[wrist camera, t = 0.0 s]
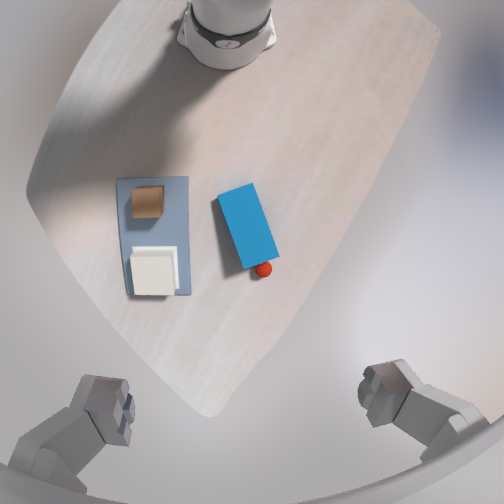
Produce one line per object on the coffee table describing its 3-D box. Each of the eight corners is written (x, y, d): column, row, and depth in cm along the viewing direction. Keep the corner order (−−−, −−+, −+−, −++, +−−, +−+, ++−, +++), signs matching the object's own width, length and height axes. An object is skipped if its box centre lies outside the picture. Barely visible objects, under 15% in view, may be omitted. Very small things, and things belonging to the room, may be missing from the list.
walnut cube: (138, 186, 50) (131, 189, 46) (164, 185, 51) (159, 188, 46) (139, 212, 52) (132, 218, 47) (164, 211, 53) (160, 217, 48)
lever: (219, 199, 59) (250, 281, 60) (216, 195, 52) (251, 288, 53) (251, 187, 59) (281, 269, 60) (252, 182, 52) (286, 275, 53)
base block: (135, 249, 54) (129, 256, 50) (173, 249, 55) (171, 256, 51) (139, 285, 57) (134, 294, 53) (176, 286, 58) (174, 295, 54)
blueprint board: (117, 179, 50) (116, 179, 49) (188, 176, 52) (187, 176, 51) (128, 292, 58) (127, 294, 57) (191, 292, 60) (191, 294, 59)
